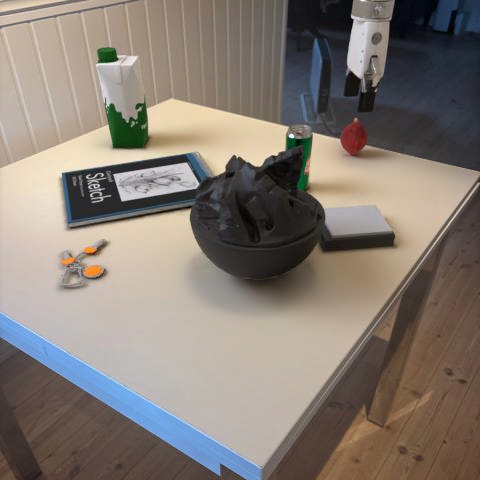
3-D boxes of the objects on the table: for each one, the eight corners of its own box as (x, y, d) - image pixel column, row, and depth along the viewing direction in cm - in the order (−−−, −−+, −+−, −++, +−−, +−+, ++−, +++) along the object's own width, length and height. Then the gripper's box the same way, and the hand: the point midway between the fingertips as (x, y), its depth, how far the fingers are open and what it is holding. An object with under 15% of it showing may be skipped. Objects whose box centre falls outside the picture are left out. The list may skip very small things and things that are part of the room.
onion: (370, 156, 110) (376, 120, 104) (349, 162, 108) (355, 125, 102) (353, 147, 113) (358, 112, 108) (333, 152, 111) (338, 117, 106)
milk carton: (117, 135, 121) (100, 44, 107) (153, 135, 120) (141, 44, 107) (108, 149, 114) (89, 54, 101) (146, 149, 114) (133, 54, 100)
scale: (373, 215, 90) (376, 203, 88) (393, 245, 83) (396, 232, 81) (308, 220, 89) (309, 207, 87) (322, 251, 82) (324, 237, 80)
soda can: (309, 193, 97) (314, 133, 89) (283, 193, 97) (286, 133, 89) (307, 182, 101) (312, 123, 93) (282, 182, 101) (285, 123, 93)
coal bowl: (191, 309, 71) (179, 190, 58) (197, 235, 86) (188, 127, 73) (328, 306, 71) (345, 186, 59) (310, 232, 86) (321, 125, 73)
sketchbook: (62, 178, 103) (60, 169, 102) (199, 158, 110) (199, 149, 109) (69, 228, 88) (66, 218, 87) (228, 201, 95) (227, 191, 93)
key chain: (101, 284, 75) (100, 280, 75) (53, 288, 75) (51, 284, 74) (108, 240, 85) (107, 236, 84) (65, 243, 84) (64, 239, 83)
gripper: (409, 18, 86) (388, 117, 97) (376, 0, 98) (361, 90, 110) (367, 19, 85) (352, 119, 96) (340, 1, 98) (329, 91, 109)
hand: (357, 103), depth 103 cm, fingers open, 9 cm apart
